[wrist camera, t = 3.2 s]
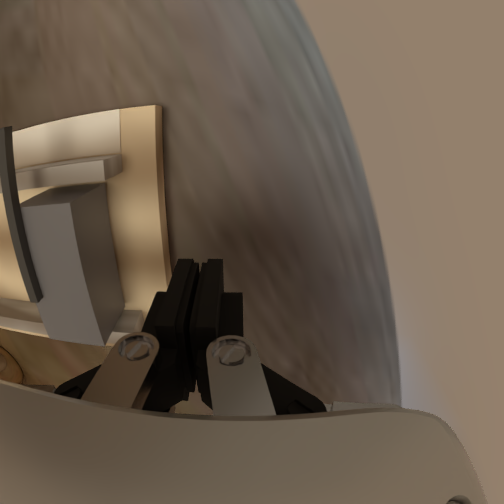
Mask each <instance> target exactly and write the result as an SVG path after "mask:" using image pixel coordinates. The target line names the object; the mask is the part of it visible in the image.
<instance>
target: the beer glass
mask: <svg viewBox="0 0 504 504" xmlns="http://www.w3.org/2000/svg"><path fill="white" fill-rule="evenodd" d="M0 379H1V380H4V381H8V382H12V383H16V384H20V383H21V382H22V380H23V373H22V370H21V368H20V366H19V365H18V363H17V362H16V361H15V360H14V358H13V357H12V356H11V355H10V354H9V353H8V352H7V351H6V350H4V349H3V348H2V347H0Z"/></svg>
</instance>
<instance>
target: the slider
mask: <svg viewBox="0 0 504 504" xmlns="http://www.w3.org/2000/svg"><path fill="white" fill-rule="evenodd" d="M0 179H1V187H2V193H3V200H4V205H5V211H6V216H7V221H8V226H9V230H10V235H11V239H12V243H13V247H14V251H15V255H16V259H17V262H18V266H19V269H20V272H21V276H22V279H23V282H24V285H25V288H26V291H27V294H28V297H29V300H30V302H32V303H36V306H37V308H38V311H39V314H40V316H41V319H42V321H43V324H44V326H45V329H46V331H47V334H48V336H49V338H50V339H55V340H61V341H68V342H75V343H82V344H90V345H98V346H105V345H106V343H107V341H108V339H109V337H110V335H111V333H112V331H113V329H114V327H115V325H116V323H117V321H118V319H119V317H120V315H121V313H122V311H123V309H124V308H125V303H124V298H123V294H122V289H121V284H120V280H119V275H118V269H117V264H116V258H115V253H114V247H113V241H112V234H111V227H110V220H109V213H108V204H107V196H106V186H105V183H99V184H87V185H77V186H67V187H58V188H50V189H48V190H46V191H44V192H42V193H40V194H37V195H35V196H33V197H31V198H30V199H28V200H26V201H24V202H22V203H20V202H19V195H18V189H17V181H16V173H15V164H14V152H13V137H12V126H9V127H4V128H1V129H0Z"/></svg>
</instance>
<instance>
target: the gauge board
mask: <svg viewBox="0 0 504 504" xmlns="http://www.w3.org/2000/svg"><path fill="white" fill-rule="evenodd" d="M12 137H13V152H14V164H15V173H16V181H17V189H18V195H19V202H20V203H22V202H24V201H26V200H28V199H30V198H31V197H33V196H35V195H37V194H40V193H42V192H44V191H46V190H48V189H50V188H58V187H67V186H77V185H87V184H99V183H105V186H106V196H107V204H108V213H109V220H110V227H111V234H112V241H113V247H114V253H115V258H116V264H117V269H118V275H119V280H120V284H121V289H122V294H123V298H124V303H125V308H124V309H123V311H122V313H121V315H120V317H119V319H118V321H117V323H116V325H115V327H114V329H113V331H112V333H111V335H110V337H109V339H108V341H107V343H106V345H107V346H114V345H115V343H116V342H117V341H118V340H119V339H120V338H121V337H123V336H124V335H127V334H130V333H134V332H141V330H142V327H143V325H144V322H145V319H146V317H147V314H148V312H149V309H150V307H151V304H152V302H153V299H154V297H155V294H156V292H158V291H164V292H166V291H167V288H168V285H169V283H170V280H171V277H172V273H171V263H170V254H169V243H168V232H167V220H166V206H165V190H164V170H163V139H162V106H157V105H151V106H142V107H133V108H125V109H117V110H110V111H104V112H98V113H92V114H86V115H81V116H76V117H71V118H66V119H62V120H57V121H53V122H49V123H45V124H41V125H37V126H33V127H29V128H26V129H22V130H19V131H15V132H12ZM0 328H3V329H7V330H12V331H17V332H22V333H27V334H32V335H38V336H43V337H49V336H48V334H47V331H46V329H45V326H44V324H43V321H42V319H41V316H40V314H39V311H38V308H37V306H36V303H32V302H30V300H29V297H28V294H27V291H26V288H25V285H24V282H23V279H22V276H21V272H20V269H19V266H18V262H17V259H16V255H15V251H14V247H13V243H12V239H11V235H10V230H9V226H8V221H7V216H6V211H5V205H4V200H3V193H2V187H1V179H0Z"/></svg>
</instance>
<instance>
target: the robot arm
mask: <svg viewBox="0 0 504 504" xmlns="http://www.w3.org/2000/svg"><path fill="white" fill-rule="evenodd" d="M196 380H197V386H198V391H199V393H201V398H202V401H203V402H204V403H205V404H206V405H207V406H209V407H210V408H211V409H212V410H213V415H214V416H213V415H192V414H177V413H175V404H177V403H178V402H180V401H182V400H185V401H188V398H189V392H194V391H195V385H196ZM0 504H488V503H487V500H486V497H485V494H484V492H483V489H482V486H481V483H480V481H479V478H478V476H477V474H476V471H475V469H474V467H473V465H472V463H471V460H470V458H469V456H468V454H467V452H466V450H465V449H464V447H463V445H462V443H461V442H460V440H459V439H458V437H457V436H456V434H455V432H454V431H453V430H452V429H451V427H450V426H449V425H448V424H447V423H446V422H445V421H443V420H442V419H441V418H439V417H437V416H435V415H433V414H430V413H427V412H423V411H419V410H412V409H405V408H402V407H400V406H398V405H394V404H375V403H351V402H336V401H333V403H332V405H331V404H323V402H322V401H320V400H319V399H318V398H317V397H315V396H313V395H311V394H310V393H308V392H306V391H305V390H303V389H301V388H300V387H298V386H296V385H295V384H293V383H291V382H290V381H288V380H287V379H285V378H283V377H282V376H280V375H279V374H277V373H275V372H274V371H272V370H271V369H269V368H268V367H266V366H264V365H263V364H261V363H260V359H259V356H258V352H257V349H256V347H255V345H254V344H253V343H252V342H251V341H250V340H248V339H246V338H244V337H243V296H242V293H226V292H224V284H223V259H208V262H207V263H202V267H201V271H200V272H199V263H194V260H193V259H178V261H177V264H176V266H175V269H174V272H173V274H172V277H171V280H170V283H169V285H168V288H167V291H166V292H164V291H158V292H156V294H155V297H154V299H153V302H152V304H151V307H150V309H149V312H148V314H147V317H146V319H145V322H144V325H143V327H142V330H141V332H134V333H130V334H127V335H124V336H123V337H121V338H120V339H119V340H118V341H117V342H116V343H115V345H114V346H113V348H112V349H111V351H110V352H109V354H108V356H107V357H106V359H105V360H104V362H103V363H102V364H101V365H99V366H97V367H95V368H93V369H91V370H89V371H87V372H85V373H83V374H81V375H79V376H77V377H75V378H73V379H71V380H69V381H67V382H65V383H63V384H61V385H60V386H59V387H58V388H57V389H56V388H55V386H54V385H23V384H16V383H12V382H8V381H4V380H1V379H0Z"/></svg>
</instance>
